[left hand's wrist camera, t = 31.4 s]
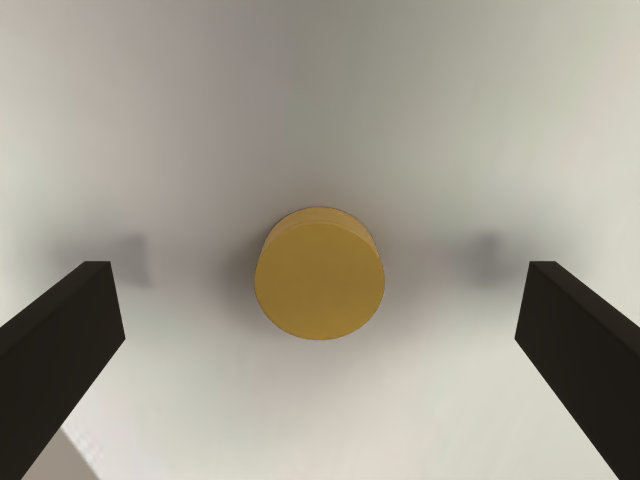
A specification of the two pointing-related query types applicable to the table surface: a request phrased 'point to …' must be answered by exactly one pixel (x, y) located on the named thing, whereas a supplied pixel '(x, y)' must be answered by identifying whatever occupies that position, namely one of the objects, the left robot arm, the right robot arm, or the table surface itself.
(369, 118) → the table surface
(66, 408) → the left robot arm
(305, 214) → the cap
